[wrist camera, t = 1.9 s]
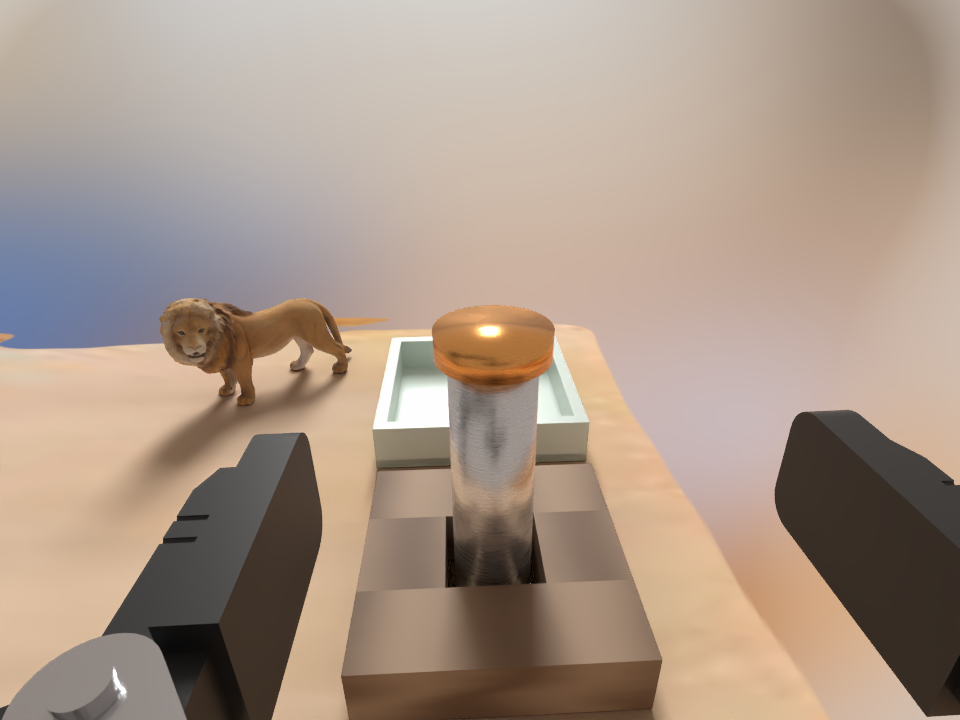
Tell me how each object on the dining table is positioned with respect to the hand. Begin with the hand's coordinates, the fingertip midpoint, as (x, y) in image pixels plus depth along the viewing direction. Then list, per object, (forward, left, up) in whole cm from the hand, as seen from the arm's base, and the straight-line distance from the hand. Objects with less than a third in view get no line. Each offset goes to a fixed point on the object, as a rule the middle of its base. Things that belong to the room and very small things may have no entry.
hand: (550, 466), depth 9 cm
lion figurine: (-17, +33, -17) cm, 41 cm away
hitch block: (0, +12, -17) cm, 21 cm away
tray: (0, +29, -17) cm, 34 cm away
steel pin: (0, +12, -17) cm, 21 cm away
